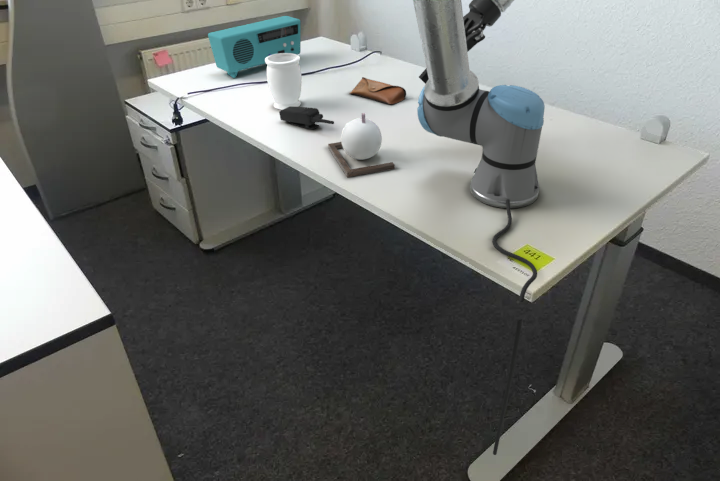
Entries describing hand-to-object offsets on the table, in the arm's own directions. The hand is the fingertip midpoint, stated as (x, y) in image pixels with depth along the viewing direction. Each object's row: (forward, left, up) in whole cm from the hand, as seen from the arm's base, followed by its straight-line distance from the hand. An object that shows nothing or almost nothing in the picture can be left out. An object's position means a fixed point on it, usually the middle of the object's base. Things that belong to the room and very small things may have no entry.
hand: (423, 81), depth 135 cm
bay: (0, +16, -18) cm, 24 cm away
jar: (+43, +27, -18) cm, 54 cm away
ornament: (+1, +16, -18) cm, 24 cm away
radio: (+84, +28, -18) cm, 91 cm away
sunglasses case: (+40, -2, -18) cm, 44 cm away
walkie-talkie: (+24, +24, -18) cm, 39 cm away
